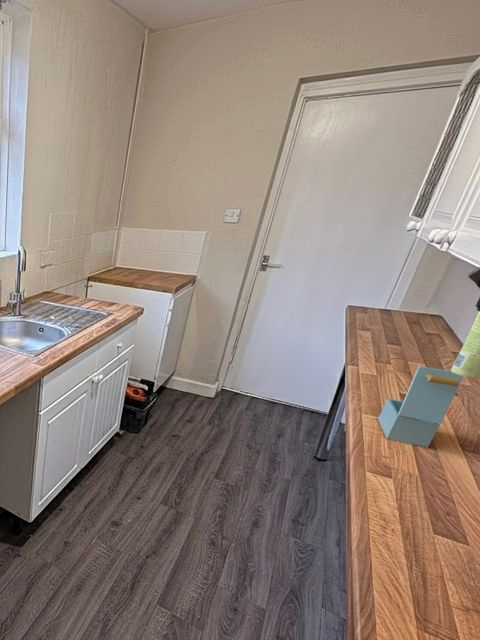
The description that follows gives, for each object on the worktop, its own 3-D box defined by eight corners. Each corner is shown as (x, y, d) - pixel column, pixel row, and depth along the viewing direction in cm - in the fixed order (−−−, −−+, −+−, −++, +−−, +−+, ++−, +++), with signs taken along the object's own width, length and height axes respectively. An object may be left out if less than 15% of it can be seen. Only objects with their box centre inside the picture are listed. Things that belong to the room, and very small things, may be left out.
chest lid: (418, 365, 109) (424, 370, 105) (463, 373, 104) (471, 377, 100) (397, 414, 113) (403, 420, 109) (440, 423, 109) (447, 429, 105)
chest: (377, 420, 126) (387, 398, 123) (414, 428, 122) (425, 405, 119) (386, 439, 116) (397, 416, 113) (427, 449, 112) (439, 425, 109)
